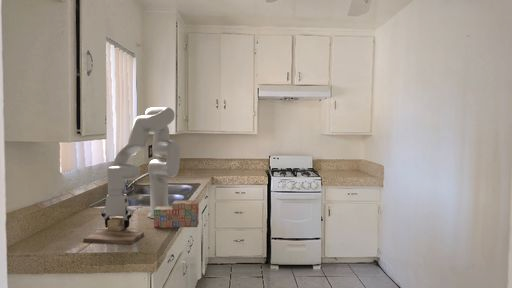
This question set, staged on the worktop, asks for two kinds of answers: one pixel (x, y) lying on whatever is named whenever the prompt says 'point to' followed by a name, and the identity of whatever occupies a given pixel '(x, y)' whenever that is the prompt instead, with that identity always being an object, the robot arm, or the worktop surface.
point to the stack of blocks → (177, 215)
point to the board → (114, 237)
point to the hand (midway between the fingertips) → (117, 227)
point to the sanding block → (116, 223)
